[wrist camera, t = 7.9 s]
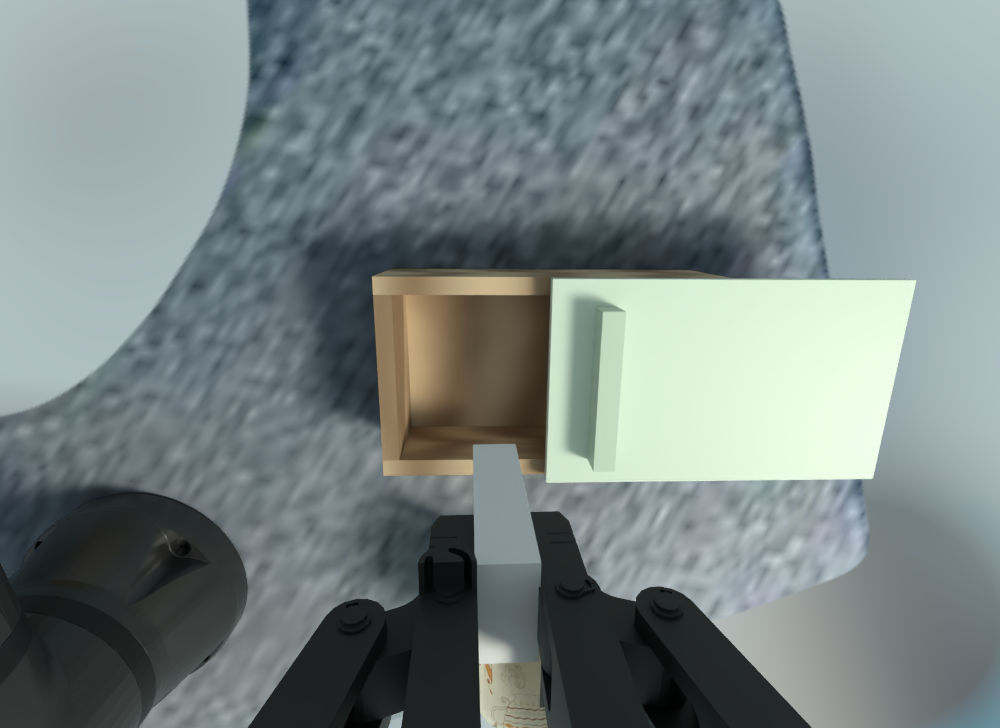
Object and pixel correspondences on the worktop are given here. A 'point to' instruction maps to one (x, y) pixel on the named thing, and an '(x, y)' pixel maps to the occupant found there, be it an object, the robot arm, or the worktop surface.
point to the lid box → (468, 362)
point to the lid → (720, 377)
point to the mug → (512, 695)
